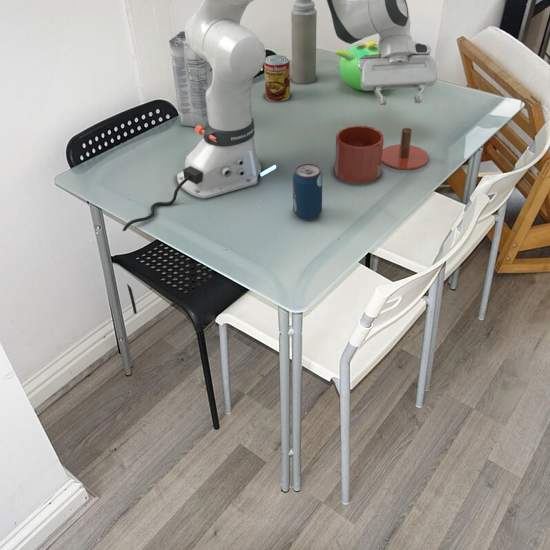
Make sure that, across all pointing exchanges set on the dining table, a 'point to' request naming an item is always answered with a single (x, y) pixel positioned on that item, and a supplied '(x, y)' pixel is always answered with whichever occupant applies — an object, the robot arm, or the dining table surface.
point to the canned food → (277, 77)
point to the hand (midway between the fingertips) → (400, 103)
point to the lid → (404, 154)
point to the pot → (358, 154)
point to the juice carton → (190, 82)
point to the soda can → (307, 191)
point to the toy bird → (355, 62)
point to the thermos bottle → (303, 41)
